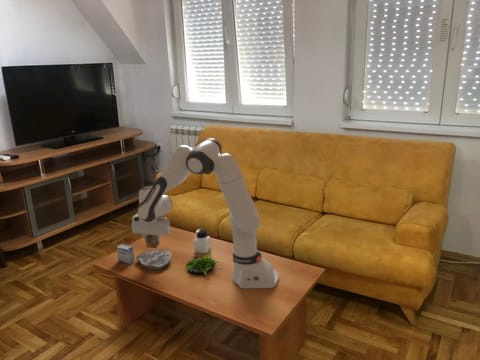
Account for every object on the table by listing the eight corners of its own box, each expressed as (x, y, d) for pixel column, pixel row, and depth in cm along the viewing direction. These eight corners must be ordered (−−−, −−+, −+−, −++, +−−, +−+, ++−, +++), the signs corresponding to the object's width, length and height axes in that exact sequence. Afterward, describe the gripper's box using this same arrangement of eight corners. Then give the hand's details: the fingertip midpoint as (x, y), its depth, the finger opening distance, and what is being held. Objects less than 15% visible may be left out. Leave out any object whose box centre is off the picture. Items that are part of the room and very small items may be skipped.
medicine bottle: (210, 247, 233) (209, 228, 229) (206, 253, 226) (205, 233, 222) (199, 246, 235) (197, 227, 231) (194, 252, 228) (192, 232, 224)
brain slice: (180, 259, 222) (180, 254, 221) (158, 274, 209) (157, 269, 208) (153, 251, 232) (153, 246, 231) (131, 264, 219) (130, 259, 218)
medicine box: (118, 261, 222) (115, 247, 219) (123, 257, 226) (121, 243, 223) (129, 264, 218) (127, 250, 216) (135, 260, 222) (133, 246, 219)
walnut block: (159, 243, 219) (158, 233, 217) (155, 248, 214) (154, 237, 212) (150, 243, 220) (149, 232, 218) (146, 247, 215) (145, 236, 213)
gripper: (171, 215, 212) (173, 239, 217) (134, 213, 217) (137, 237, 221) (166, 220, 207) (169, 245, 211) (128, 217, 211) (132, 242, 215)
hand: (152, 241), depth 216 cm, fingers closed on walnut block, 5 cm apart
